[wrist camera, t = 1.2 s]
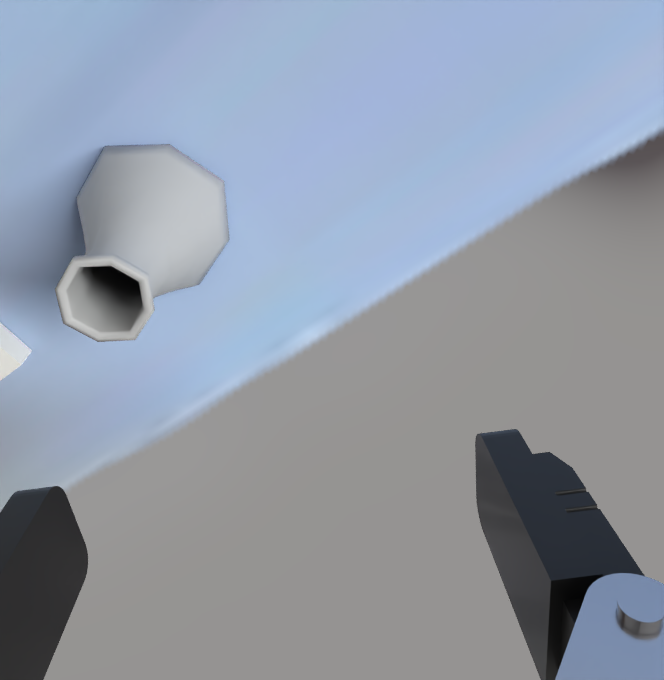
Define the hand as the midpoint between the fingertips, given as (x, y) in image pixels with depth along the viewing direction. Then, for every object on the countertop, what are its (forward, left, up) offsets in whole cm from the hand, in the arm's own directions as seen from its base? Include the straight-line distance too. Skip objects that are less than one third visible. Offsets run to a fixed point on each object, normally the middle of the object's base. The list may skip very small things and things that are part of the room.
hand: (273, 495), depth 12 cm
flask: (-3, -5, -20) cm, 21 cm away
